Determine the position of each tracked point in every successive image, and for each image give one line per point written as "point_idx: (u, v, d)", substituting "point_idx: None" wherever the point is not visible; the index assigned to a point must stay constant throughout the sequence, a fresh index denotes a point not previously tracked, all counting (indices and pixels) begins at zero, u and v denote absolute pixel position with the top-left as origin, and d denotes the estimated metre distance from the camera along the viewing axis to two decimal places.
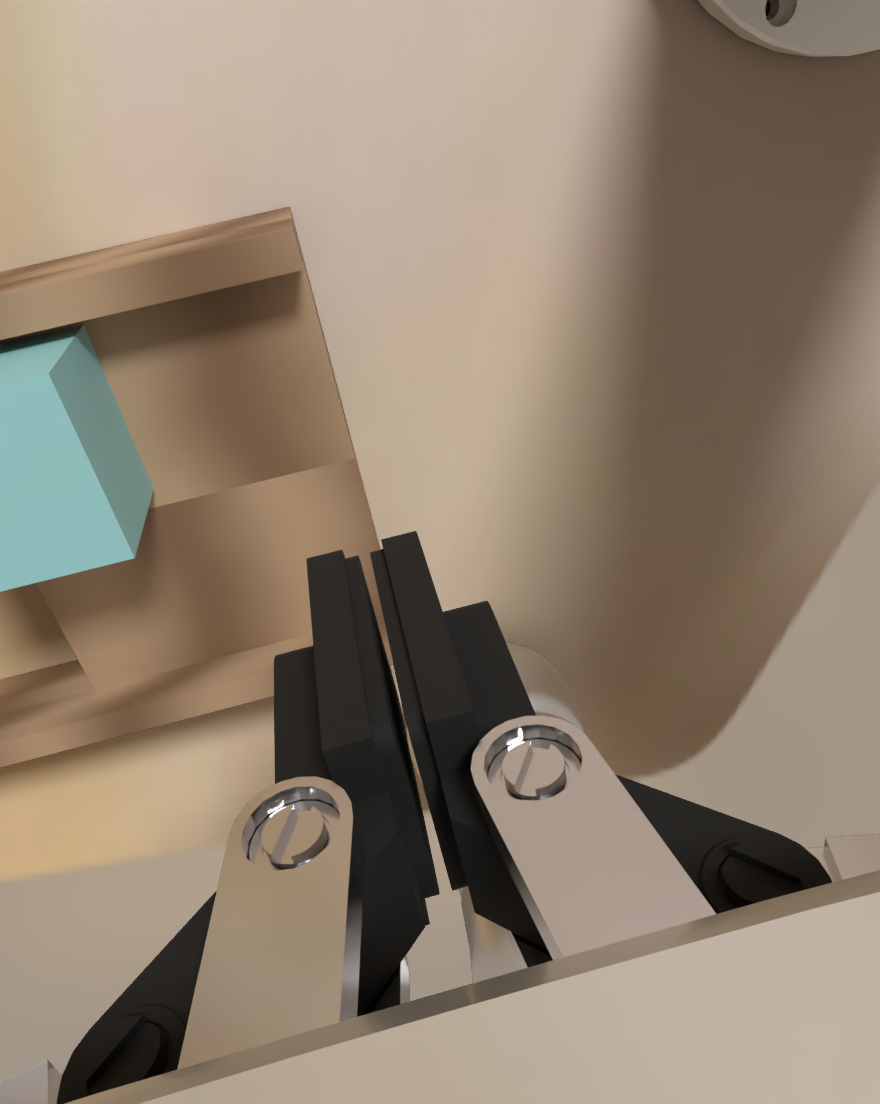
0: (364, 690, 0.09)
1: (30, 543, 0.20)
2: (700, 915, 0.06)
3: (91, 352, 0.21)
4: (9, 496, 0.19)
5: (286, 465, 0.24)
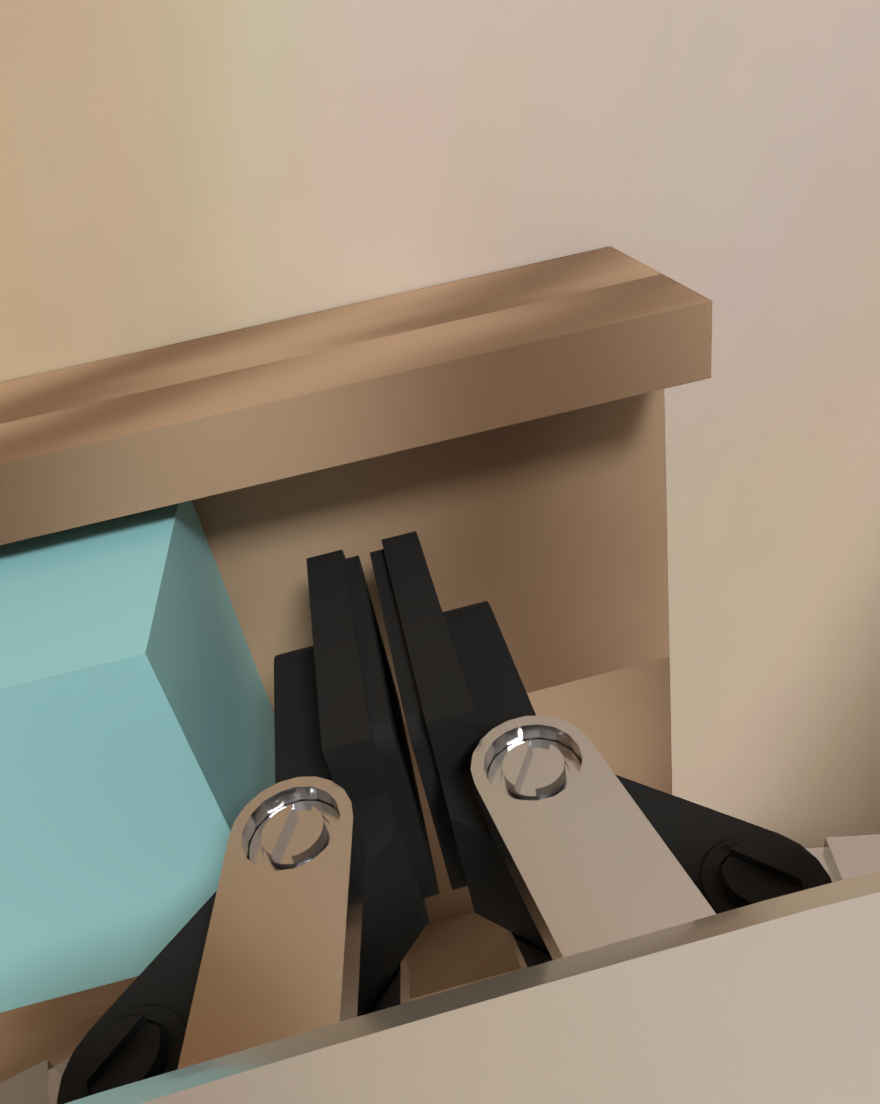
0: (363, 690, 0.09)
1: (87, 932, 0.10)
2: (700, 915, 0.06)
3: (196, 530, 0.11)
4: (47, 865, 0.09)
5: (561, 671, 0.15)
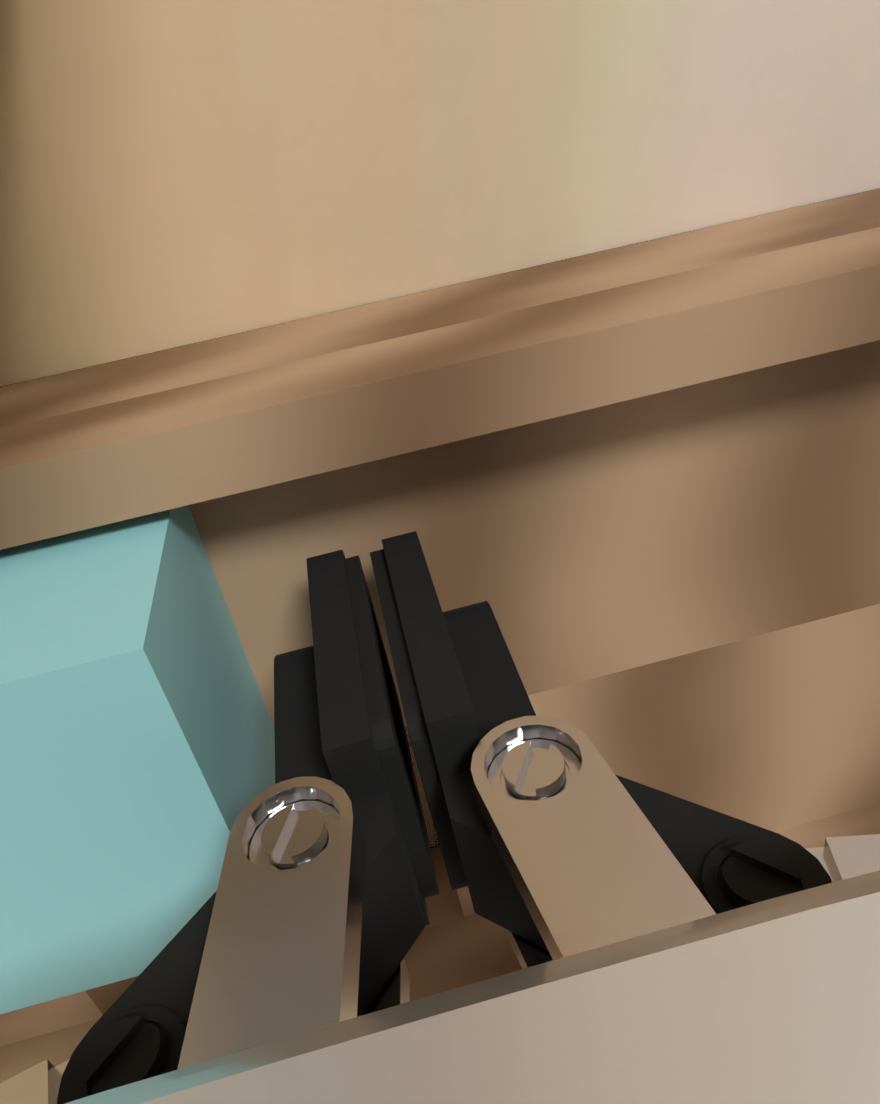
0: (364, 691, 0.09)
1: (83, 934, 0.10)
2: (700, 915, 0.06)
3: (191, 527, 0.11)
4: (42, 865, 0.09)
5: (850, 598, 0.15)
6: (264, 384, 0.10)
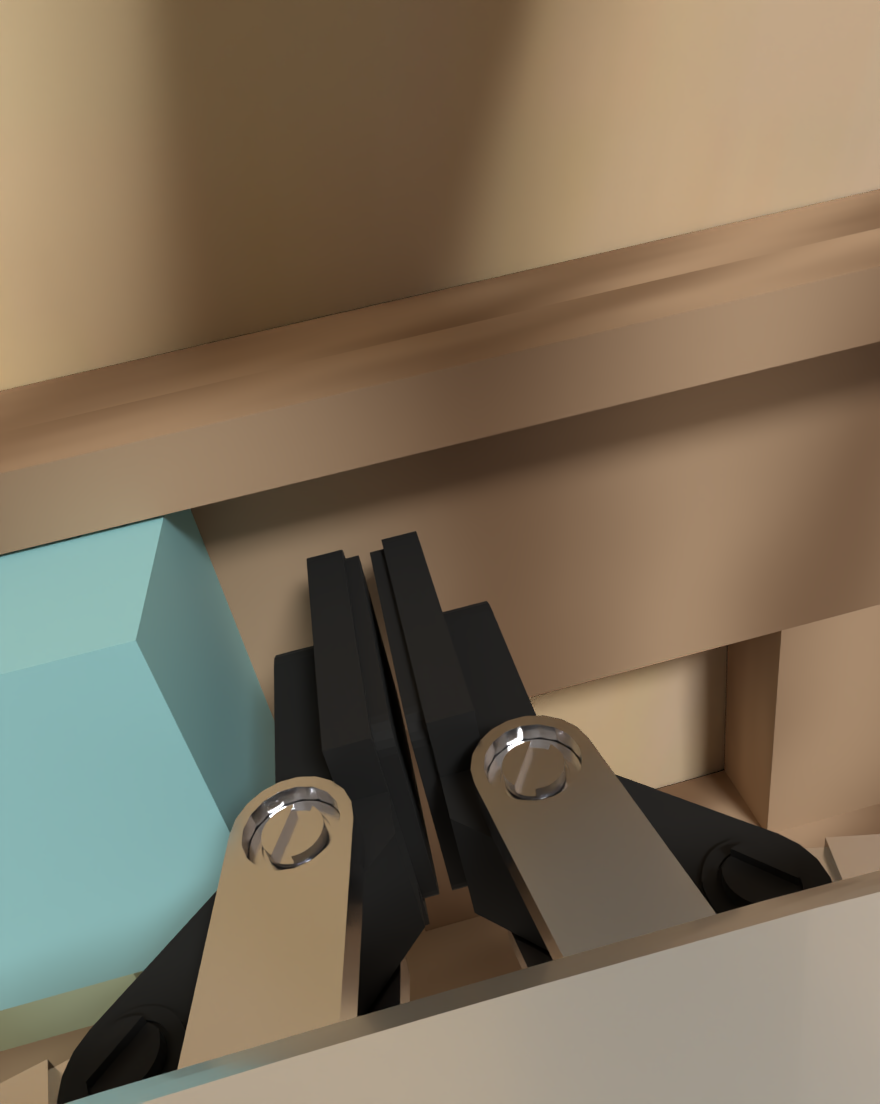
0: (363, 690, 0.09)
1: (80, 928, 0.10)
2: (700, 915, 0.06)
3: (189, 520, 0.11)
4: (38, 861, 0.09)
5: None
6: (787, 265, 0.11)
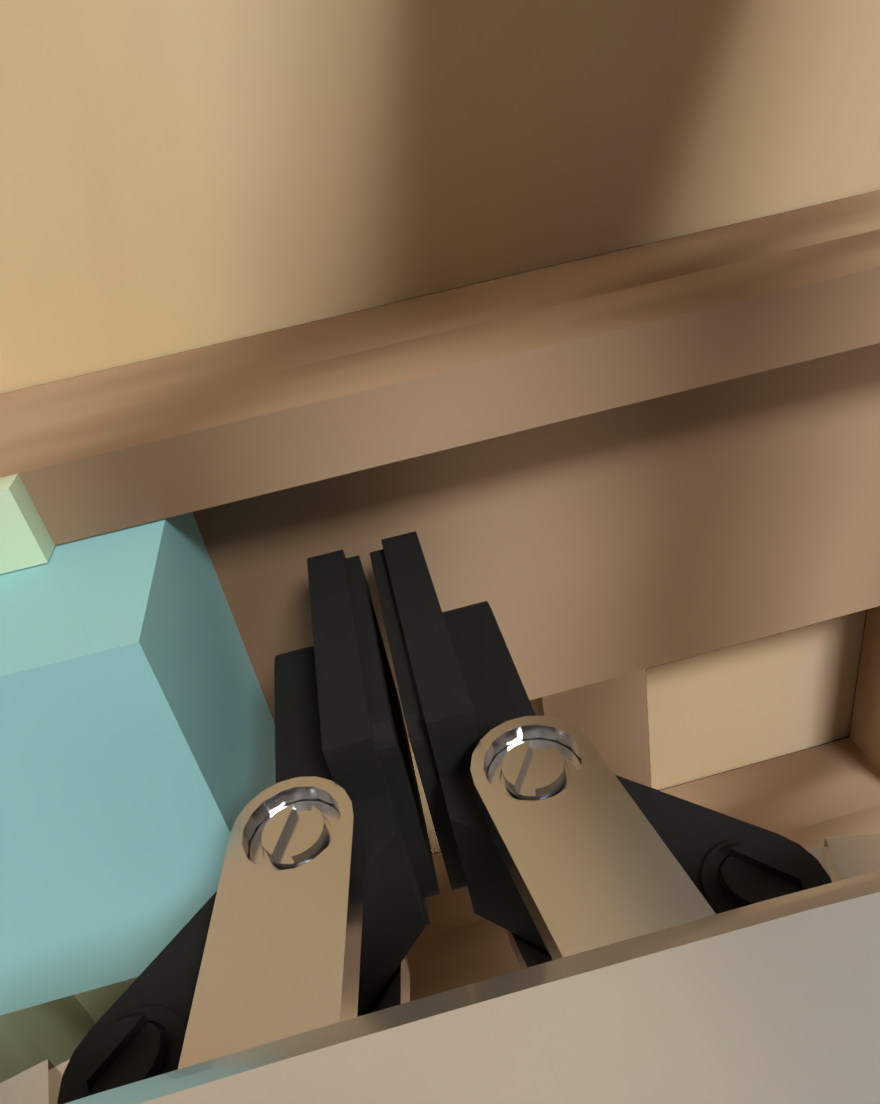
0: (364, 691, 0.09)
1: (79, 934, 0.10)
2: (700, 915, 0.06)
3: (189, 521, 0.11)
4: (39, 864, 0.09)
5: None
6: None
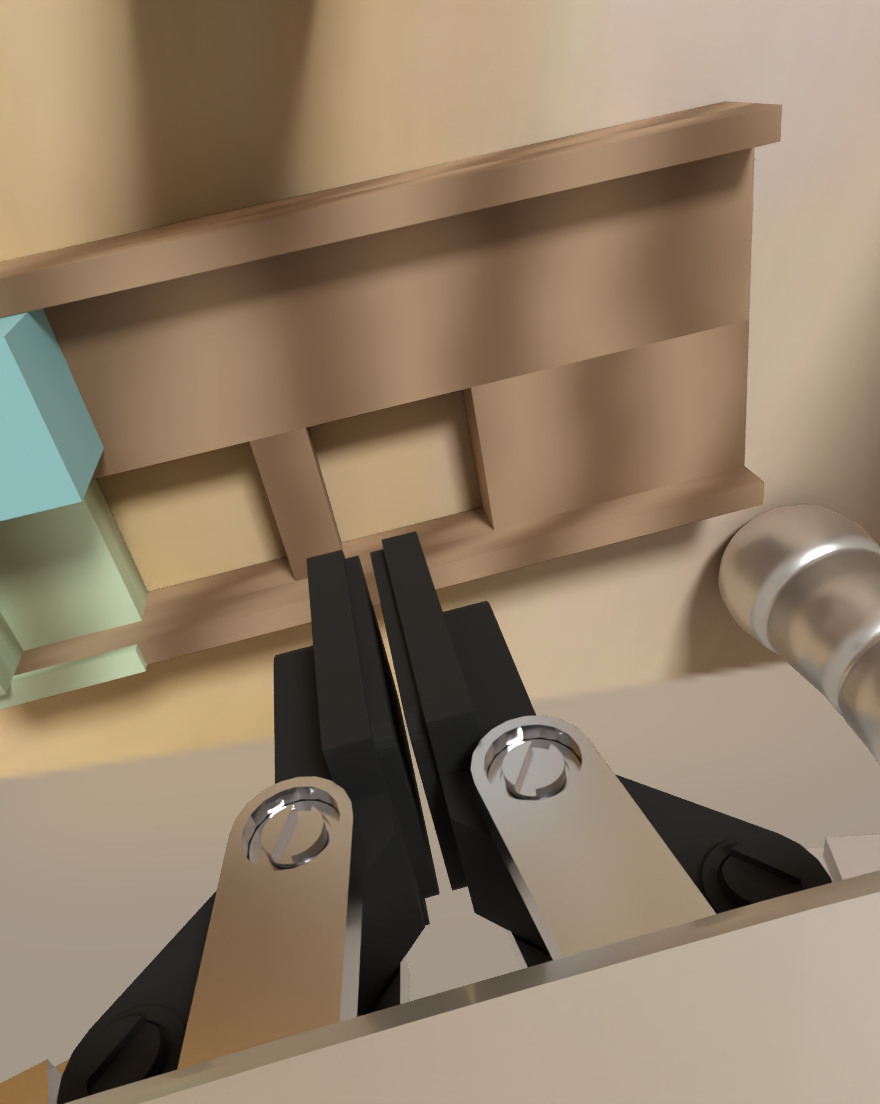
0: (364, 691, 0.09)
1: None
2: (700, 915, 0.06)
3: (46, 324, 0.24)
4: None
5: (695, 324, 0.29)
6: (417, 181, 0.24)
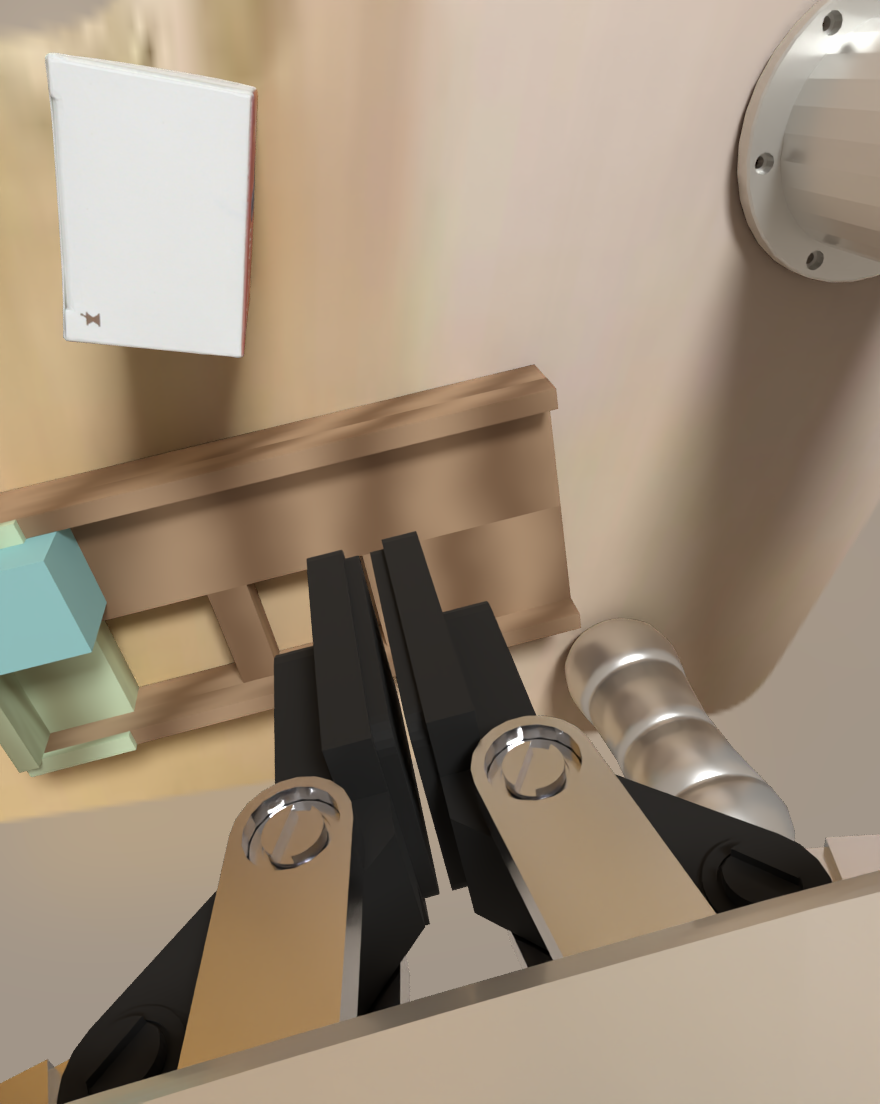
0: (363, 691, 0.09)
1: (33, 645, 0.35)
2: (700, 915, 0.06)
3: (68, 531, 0.37)
4: (21, 621, 0.35)
5: (521, 510, 0.41)
6: (313, 439, 0.36)
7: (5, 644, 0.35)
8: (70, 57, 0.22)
